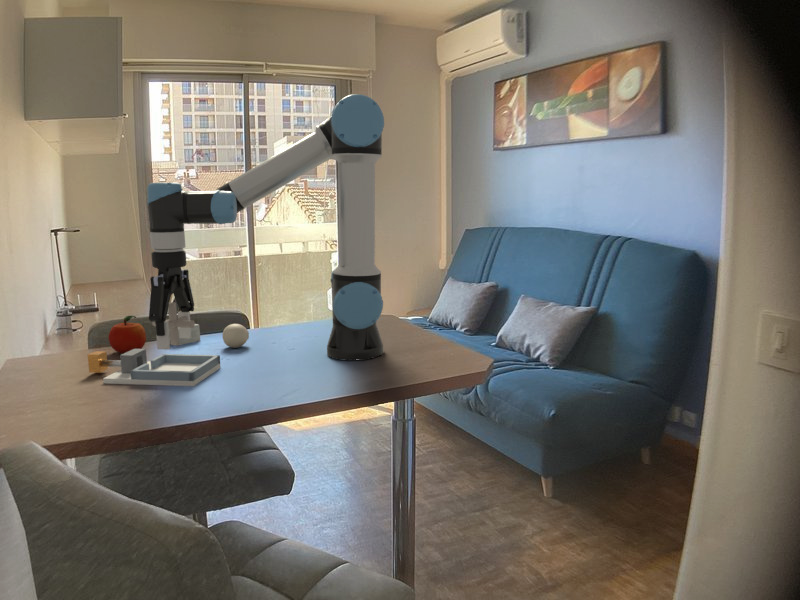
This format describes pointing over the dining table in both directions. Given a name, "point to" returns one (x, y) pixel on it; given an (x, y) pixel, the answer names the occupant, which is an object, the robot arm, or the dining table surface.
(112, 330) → the fruit
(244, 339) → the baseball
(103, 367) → the lock pin
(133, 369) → the dock
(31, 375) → the dining table surface
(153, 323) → the pipe connector
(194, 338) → the small box
